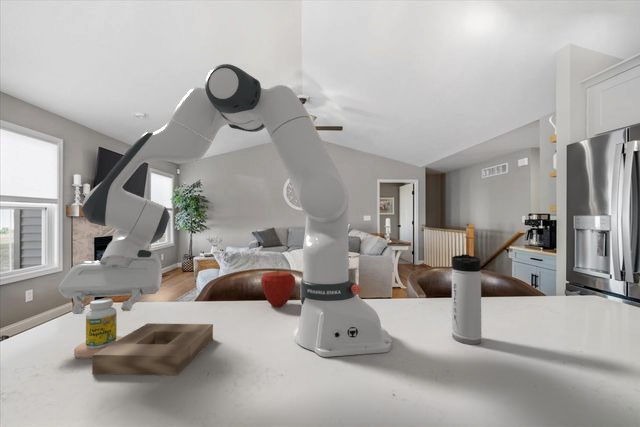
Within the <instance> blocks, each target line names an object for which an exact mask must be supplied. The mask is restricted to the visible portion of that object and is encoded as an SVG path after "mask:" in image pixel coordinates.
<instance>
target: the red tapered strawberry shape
mask: <svg viewBox="0 0 640 427" xmlns="http://www.w3.org/2000/svg"><path fill="white" fill-rule="evenodd" d="M260 279H261V280H260V282H261V284H260V285H261V287H262V291H263V294H264V297H265V298H266V301H267V302H268V304H270V305H271V306H272V307H275V308H282V307H283V306H284V305H286V304H288V301H289V300H290V298H291V296H292V294H293V291H294V289H295V286H296V277H295V276H294V275H293V273H291V272H288V271H287V272H286V271H280V270H279V269H278V270H277V271H271V272H266V273H264V274H263V275H262V277H261V278H260Z"/></svg>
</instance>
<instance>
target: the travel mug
mask: <svg viewBox="0 0 640 427" xmlns="http://www.w3.org/2000/svg"><path fill="white" fill-rule="evenodd" d="M481 273H482V270H481V257H477V256H473V255H470V254H467V253H466V254H465V253H464V254H463V253H461V255H454V256H452V257H451V325H452V328H451V329H452V330H451V332H452V333H451V335H452V339H454V340H455V341H457V342H459V343H462V344H465V343H466V344H465V345H472V344H473V345H479V344H481V343H482V278H481V277H482V274H481Z"/></svg>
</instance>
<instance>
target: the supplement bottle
mask: <svg viewBox="0 0 640 427" xmlns="http://www.w3.org/2000/svg"><path fill="white" fill-rule="evenodd" d="M113 304H114V301H113V298H108V297H107V298H99V299H95V300H91V301H90V302H89V309H90V311H88V312H87V314H86V316H85V342H86V347H87V348H88V349H99V348H104V347H107V346H109V345H111V344H112V343H114V342H116V337H117V336H118V335H117V327H118V326H117V318H118V317H117V309H116V307H113Z"/></svg>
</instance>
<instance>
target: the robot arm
mask: <svg viewBox="0 0 640 427" xmlns="http://www.w3.org/2000/svg"><path fill="white" fill-rule="evenodd" d="M226 125H228V126H229V128H231V129H234V130H240V131H243V132H250V133H256V132H260V131H262V130H264V129H266V131H267V133H268V136H269V138H270V140H271V142H272V143H273V145H274V147H275V150H276V152H277V154H278V156H279V158H280V160H281V162H282V164H283V166H284V169H285V171H286V174H287V176H288V179H289V182H290V184H291V186H292V189H293V192H294V194H295V197H296V198H297V201H298V204H299V205H300V208H301V210H302V212H303V213H304V215H305V225H304V226H305V227H304V238H303V245H302V278H301V280H300V286H299V288H300V296H299V297H300V299H299V300H300V303H301V312H300V318H299V324H298V329H297V332H296V335H295V342H296V343H297V344H298V345H299V346H301V347H303V348H305V349H307V350H310V351H312V352H315V354H317V355H318V356H321V357H323V358H324V357H325V358H326V357H327V358H328V357H341V356H342V357H343V356H354V355H366V354H367V355H368V354H379V353H388V352H390V350H392V346H393V344H392V338H391V335H390V333H389V332H388V331H387V330H386V329H385V328H384V327H382V324H381V320H380V316H379V315H378V313H377V311H376V309H374V307H372V306H371V305H370V304H368V303H367V302H366V301H364V300H363V299H362V298H361V297H360V296H358V295H359V294H361V287H360V285H358V284H357V282H355V281H354V280H352V279H350V278H349V198H350V197H349V190H348V188H347V185H346V183H345V182H344V179H343V178H342V176H341V174H340V172H339V170H338V169H337V167H336V165H335V163H334V160H333V159H332V157H331V155H330V153H329V152H328V150H327V147H326V146H325V145H324V143H323V141H322V139H321V137H320V135H319V132H318V130H317V128H316V126H315V124H314V122H313V120H312V118H311V116H310V115H309V112H308V111H307V108H306V107H305V106H304V104H303V102H302V101H301V100H300V98H299V97H298V95H297V94H296V93H295V92H294V91H293V89H292V88H290V87H289V86H287V85H282V84H278V85H274V86H271V87H269V88H263V87H262V86H261V82H260V81H259V80H258V79H257V78H255V77H254V76H252V75H250V74H249V73H247V72H246V71H244V70H243V69H242V68H240V67H238V66H235V65H232V64H231V63H229V64H228V63H224V64H220V65H217V66H215V67H214V68H212V69H211V70H210V71H209V72H208V74H207V76H206V78H205V82H204V88H203V87H194V88H191V89H190V90H189V91H188V92H187V93H186V94H185V96H183V97H182V99H181V101H180V102H179V103H178V104H177V106H176V108H175V109H174V111H173V112H172V114H171V116H170V117H169V119H168V121H167V122H166V124H165V125H164V126H162V127H160V129H158V130H156V131H146V132H145V133H144V134H141V136H139V137H138V139H137V140H136V141H135V142H134V143H133V145H132V146H130V147H129V149H127V151H126V152H125V153H124V154H123V156H122V157H121V158H120V159H119V161H117V163H116V164H115V165H114V167H113V166H112V169H111V170H110V171H109V172H108V173H107V175H106V177H105V178H103V180H102V181H101V182H100V183H99V184H97V185H96V186H95V187H93V188H92V189H91V190H90V191H89V192H88V193H87V195H86V196H85V198H84V199H83V201H82V205H81V208H80V209H81V212H82V214H83V215H84V217H85V219H87V221H88V222H89V224H95V225H98V226H102V227H108V228H111V229H114V232H113V235H112V240H111V241H110V242H109V243H108V244H107V247H106V249H105V251H104V252H103V255H102V257H101V258H100V260H94V261H81V262H80V263H77V264H75V265H73V266H72V267H71V268H70V271H69V272H68V273H67V274H66V275H65V276H64V278H63V279H62V280H61V282H60V284H58V288H57V289H58V291H59V293H60V294H61V295H62V296H63V297H64V298H65V299H73V303H74V305H73V307H72V309H71V312H72V314H73V315H82V314H84V312H85V310H86V308H87V307H86V306H85V304H84V303H83V302H84V300H85V298H94V297H95V298H97V297H98V298H99V297H101V298H102V297H121V296H131V297H130V298H129V299H128V300H124V301H123V302H122V305H121V307H120V308H121V310H122V311H121V312H130V311H132V309H133V305H135V304H136V303H137V302H138V301H139V300H140V299H141V298H142V295H156V294H157V293H158V292H159V291H160V290H161V286H162V285H161V284H162V280H163V274H162V268H163V267H162V261H161V259H160V257H159V255H158V253H157V252H156V251H155V250H154V251H153V250H148V249H147V248H148V247H149V245H152V244H154V243H156V242H158V241H159V240H161V239H162V238H163V237H164V235H165V233H166V231H167V230H166V229H167V227H168V224H169V221H170V217H171V216H170V213H169V211H168V209H167V207H166V206H164V205H163V204H160V203H158V202H156V201H153V200H150V199H148V198H145V197H142V196H139V195H137V194H134V193H132V192H129V191H127V190H125V189H124V188H123V187H124V185H125V184H126V183H127V182H128V180H129V179H130V178H131V177H132V176H133V174H134V173H135V172H136V170H137V169H139V168H140V166H141V165H143V164H145V163H146V162H150V161H162V162H171V163H179V164H188V163H193V162H197V161H199V160H201V159H202V158H203V157H204V156H205V155H206V153H207V152H208V150H209V149H210V147H211V145H212V144H213V143H212V142H213V141H214V140H215V138H216V135H217V134H218V132H219V130H220V129H221V128H222V127H224V126H226Z"/></svg>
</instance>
